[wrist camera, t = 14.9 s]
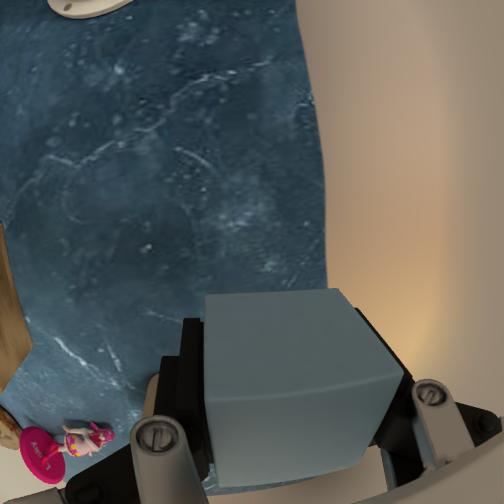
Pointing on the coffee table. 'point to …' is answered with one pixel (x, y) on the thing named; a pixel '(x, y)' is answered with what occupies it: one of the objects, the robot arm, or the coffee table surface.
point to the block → (291, 384)
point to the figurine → (58, 449)
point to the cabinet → (10, 322)
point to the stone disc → (9, 431)
